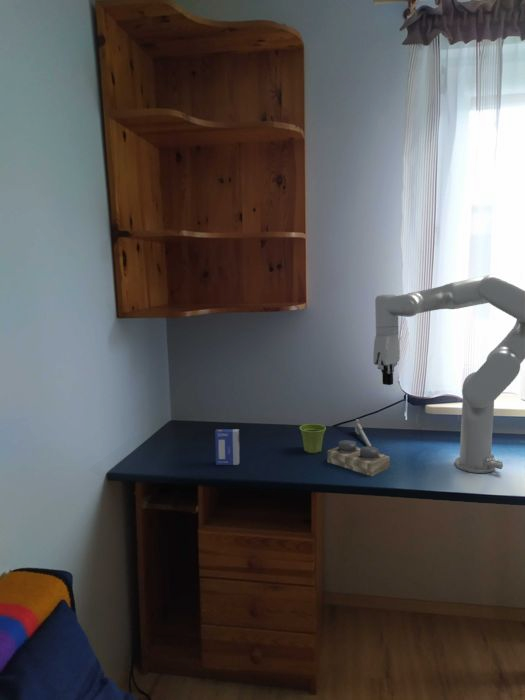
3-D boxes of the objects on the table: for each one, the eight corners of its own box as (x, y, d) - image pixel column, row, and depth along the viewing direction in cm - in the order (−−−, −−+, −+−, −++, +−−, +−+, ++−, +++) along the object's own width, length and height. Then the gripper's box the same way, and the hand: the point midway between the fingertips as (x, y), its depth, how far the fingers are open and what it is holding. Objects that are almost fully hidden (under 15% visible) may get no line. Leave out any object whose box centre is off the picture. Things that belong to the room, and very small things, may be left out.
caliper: (354, 433, 213) (355, 418, 212) (357, 433, 214) (357, 418, 213) (369, 450, 193) (370, 433, 192) (372, 450, 193) (373, 433, 192)
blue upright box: (215, 465, 180) (215, 430, 178) (216, 462, 182) (215, 428, 181) (239, 465, 180) (238, 430, 178) (239, 462, 182) (239, 428, 180)
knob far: (359, 461, 182) (359, 442, 181) (348, 465, 178) (349, 447, 177) (345, 456, 186) (345, 439, 185) (334, 461, 182) (334, 443, 181)
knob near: (382, 468, 175) (382, 449, 174) (371, 472, 171) (371, 453, 170) (366, 463, 180) (367, 445, 179) (356, 468, 175) (356, 449, 174)
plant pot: (326, 455, 188) (326, 431, 186) (299, 454, 189) (299, 431, 187) (325, 446, 197) (325, 424, 196) (299, 446, 198) (299, 423, 197)
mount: (389, 468, 176) (389, 456, 175) (371, 476, 169) (371, 464, 168) (345, 454, 188) (345, 443, 188) (327, 461, 182) (327, 450, 181)
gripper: (389, 328, 189) (389, 379, 191) (365, 333, 178) (366, 387, 181) (408, 329, 184) (408, 381, 186) (384, 334, 173) (385, 389, 176)
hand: (387, 384), depth 183 cm, fingers closed
